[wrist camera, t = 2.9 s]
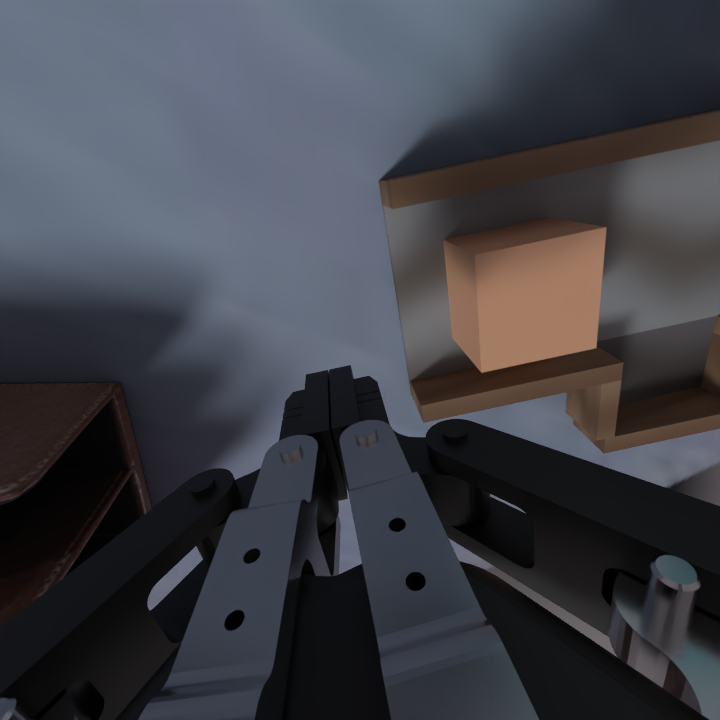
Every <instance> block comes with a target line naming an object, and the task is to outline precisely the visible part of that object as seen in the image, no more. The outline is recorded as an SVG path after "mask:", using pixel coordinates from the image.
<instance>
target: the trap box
mask: <svg viewBox="0 0 720 720" xmlns="http://www.w3.org/2000/svg"><path fill="white" fill-rule="evenodd" d="M379 185H380V192H381V198H382V205H383V212H384V218H385V225H386V231H387V238H388V244H389V251H390V257H391V264H392V271H393V277H394V284H395V290H396V297H397V303H398V310H399V316H400V323H401V330H402V336H403V343H404V349H405V356H406V362H407V369H408V375H409V382H410V389H411V395H412V397H413V399H414V402H415V404H416V406H417V409H418V411H419V413H420V416H421V418H422V420H423V423H424V422H429V421H434V420H438V419H443V418H448V417H452V416H457V415H462V414H466V413H471V412H476V411H480V410H485V409H490V408H494V407H499V406H504V405H508V404H513V403H518V402H522V401H527V400H532V399H536V398H541V397H546V396H550V395H555V394H559V393H564V392H567V404H566V413H567V414H568V415H570V416H571V417H572V418H573V419H574V422H573V424H574V425H575V426H576V427H577V428H578V429H579V430H580V431H581V432H582V433H583V434H584V435H585V436H586V437H587V438H588V439H589V440H590V441H591V442H593V443H594V444H595V445H596V446H597V447H598V448H599V449H600V450H601V451H602V452H603V453H608V452H613V451H617V450H622V449H627V448H631V447H636V446H641V445H645V444H650V443H654V442H659V441H664V440H668V439H673V438H678V437H682V436H687V435H692V434H696V433H701V432H706V431H710V430H715V429H719V428H720V109H717V110H712V111H707V112H703V113H698V114H693V115H688V116H684V117H679V118H674V119H669V120H665V121H660V122H655V123H650V124H646V125H641V126H636V127H631V128H627V129H622V130H617V131H612V132H608V133H603V134H598V135H593V136H589V137H584V138H579V139H574V140H570V141H565V142H560V143H555V144H551V145H546V146H541V147H536V148H532V149H527V150H522V151H517V152H513V153H508V154H503V155H498V156H494V157H489V158H484V159H479V160H475V161H470V162H465V163H460V164H456V165H451V166H446V167H441V168H437V169H432V170H427V171H422V172H418V173H413V174H408V175H403V176H399V177H394V178H389V179H384V180H380V181H379ZM544 218H555V219H561V220H567V221H573V222H579V223H585V224H591V225H597V226H603V227H607V228H606V240H605V252H604V263H603V275H602V287H601V299H600V311H599V322H598V334H597V346H596V348H595V349H590V350H586V351H581V352H576V353H572V354H567V355H562V356H558V357H553V358H548V359H544V360H539V361H534V362H530V363H525V364H520V365H516V366H511V367H506V368H502V369H497V370H492V371H487V372H483V373H481V372H480V370H479V369H478V368H477V367H476V366H475V364H474V363H473V362H472V361H471V360H470V358H469V357H468V356H467V355H466V354H465V353H464V351H463V350H462V349H461V348H460V347H459V345H458V344H457V343H456V342H455V341H454V339H453V338H452V329H451V318H450V307H449V296H448V285H447V275H446V264H445V253H444V242H443V240H445V239H450V238H454V237H459V236H464V235H468V234H473V233H478V232H483V231H487V230H492V229H497V228H502V227H506V226H511V225H516V224H520V223H525V222H530V221H535V220H539V219H544Z"/></svg>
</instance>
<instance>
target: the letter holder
mask: <svg viewBox="0 0 720 720" xmlns="http://www.w3.org/2000/svg"><path fill="white" fill-rule="evenodd" d="M151 509H152V506H151V501H150V497H149V494H148V489H147V484H146V481H145V477H144V472H143V469H142V464H141V460H140V457H139V452H138V448H137V444H136V441H135V436H134V433H133V429H132V424H131V421H130V415H129V412H128V409H127V405H126V401H125V396H124V393H123V389H122V386H121V384H120V383H116V382H111V383H89V382H86V383H26V384H23V383H13V384H2V383H0V627H2V626H3V625H4V624H5V623H7V622H8V621H9V620H10V619H12V618H13V617H14V616H16V615H17V614H18V613H19V612H21V611H22V610H23V609H25V608H26V607H27V606H28V605H30V604H31V603H32V602H33V601H35V600H36V599H37V598H39V597H40V596H41V595H42V594H44V593H45V592H46V591H47V590H49V589H50V588H51V587H53V586H54V585H55V584H56V583H58V582H59V581H60V580H62V579H63V578H64V577H65V576H67V575H68V574H69V573H70V572H72V571H73V570H74V569H76V568H77V567H78V566H79V565H81V564H82V563H83V562H84V561H86V560H87V559H88V558H90V557H91V556H92V555H93V554H95V553H96V552H97V551H99V550H100V549H101V548H102V547H104V546H105V545H106V544H107V543H109V542H110V541H111V540H113V539H114V538H115V537H116V536H118V535H119V534H120V533H121V532H123V531H124V530H125V529H127V528H128V527H129V526H130V525H132V524H133V523H134V522H136V521H137V520H138V519H139V518H141V517H142V516H143V515H144V514H146V513H147V512H148V511H150V510H151Z"/></svg>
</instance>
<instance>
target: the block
mask: <svg viewBox="0 0 720 720" xmlns="http://www.w3.org/2000/svg"><path fill="white" fill-rule="evenodd" d="M606 228H607V227H603V226H597V225H591V224H585V223H579V222H573V221H567V220H561V219H555V218H544V219H539V220H535V221H530V222H525V223H520V224H516V225H511V226H506V227H502V228H497V229H492V230H487V231H483V232H478V233H473V234H468V235H464V236H459V237H454V238H450V239H445V240H443V242H444V253H445V264H446V275H447V285H448V296H449V307H450V318H451V329H452V338H453V339H454V341H455V342H456V343H457V344H458V345H459V347H460V348H461V349H462V350H463V351H464V353H465V354H466V355H467V356H468V357H469V358H470V360H471V361H472V362H473V363H474V364H475V366H476V367H477V368H478V369H479V370H480V372H481V373H483V372H487V371H492V370H497V369H502V368H506V367H511V366H516V365H520V364H525V363H530V362H534V361H539V360H544V359H548V358H553V357H558V356H562V355H567V354H572V353H576V352H581V351H586V350H590V349H595V348H596V346H597V334H598V322H599V311H600V299H601V287H602V275H603V263H604V252H605V240H606Z"/></svg>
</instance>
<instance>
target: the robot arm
mask: <svg viewBox="0 0 720 720" xmlns="http://www.w3.org/2000/svg"><path fill="white" fill-rule="evenodd" d="M346 485H347V486H346ZM347 489H348V493H349V499H350V504H351V509H352V514H353V519H354V524H355V529H356V535H357V540H358V545H359V550H360V555H361V560H362V564H360V565H358V566H356V567H354V568H352V569H350V570H348V571H346V572H343V573H341V574H339V557H340V529H341V525H340V520H339V516H338V513H339V505H338V501H340V500H344V499H348V497H347ZM490 494H492V495H494V496H496V497H498V498H500V499H502V500H505V501H507V502H509V503H511V504H513V505H515V506H517V507H519V508H520V509H522V510H523V511H524V512H525V513H526V514H525V513H523V512H521V511H519V510H517V509H515V508H513V507H511V506H509V505H507V504H505V503H503V502H500V501H498V500H496V499H494V498H492V497H490ZM448 538H449V539H451V540H453V541H454V542H456V543H457V544H459V545H461V546H462V547H464V548H466V549H467V550H469V551H470V552H472V553H474V554H475V555H477V556H479V557H480V558H482V559H483V560H485V561H487V562H488V563H490V564H492V565H493V566H495V567H496V568H498V569H500V570H501V571H503V572H505V573H506V574H508V575H509V576H511V577H513V578H514V579H516V580H518V581H519V582H521V583H522V584H524V585H526V586H527V587H529V588H530V589H532V590H534V591H535V592H537V593H539V594H540V595H542V596H543V597H545V598H547V599H548V600H550V601H552V602H553V603H555V604H557V605H558V606H560V607H561V608H563V609H565V610H566V611H568V612H569V613H571V614H573V615H574V616H576V617H578V618H579V619H581V620H582V621H584V622H586V623H587V624H589V625H591V626H592V627H594V628H596V629H597V630H599V631H600V632H602V633H603V634H605V635H607V636H608V637H609V639H610V643H611V646H612V648H613V650H614V652H615V654H616V656H617V657H618V658H617V657H616V656H614V655H613V654H611V653H610V652H609V651H607V650H605V649H604V648H603V647H601V646H600V645H598V644H597V643H595V642H594V641H592V640H591V639H589V638H588V637H586V636H585V635H583V634H582V633H580V632H579V631H577V630H576V629H574V628H573V627H572V626H570V625H569V624H567V623H566V622H564V621H563V620H561V619H560V618H558V617H557V616H555V615H554V614H552V613H551V612H549V611H548V610H546V609H545V608H543V607H542V606H540V605H539V604H537V603H536V602H534V601H533V600H532V599H530V598H529V597H527V596H526V595H524V594H523V593H521V592H520V591H518V590H517V589H515V588H514V587H512V586H511V585H509V584H508V583H506V582H505V581H503V580H502V579H500V578H499V577H497V576H496V575H494V574H492V573H490V572H488V571H486V570H484V569H482V568H479V567H476V566H474V565H471V564H468V563H464V562H460V561H459V560H458V558H457V556H456V554H455V552H454V549H453V547H452V545H451V543H450V541H449V539H448ZM195 546H197V548H198V550H199V552H200V554H201V556H202V558H203V560H202V561H201V562H200V563H199V564H198V565H197V566H196V567H195V568H194V569H193V570H192V571H191V572H190V573H189V574H188V575H187V576H186V577H185V578H184V579H183V580H182V581H181V582H180V583H179V584H178V585H177V586H176V587H175V588H174V589H173V590H172V591H171V592H170V593H169V594H168V595H167V596H166V597H165V598H164V599H163V600H162V601H161V602H160V603H159V604H158V605H157V606H156V607H154V608H153V609H152V610H150V611H149V609H148V606H147V601H148V597H149V594H150V592H151V590H152V588H153V587H154V586H155V584H156V583H157V582H158V581H159V580H160V579H161V578H162V577H163V576H164V575H166V574H167V573H168V572H169V571H170V570H171V569H172V568H173V567H174V566H175V565H176V564H177V563H178V562H179V561H180V560H181V559H183V558H184V557H185V556H186V555H187V554H188V553H189V552H190V551H191V550H192V549H193V548H194V547H195ZM0 720H720V506H717V505H714V504H711V503H709V502H705V501H702V500H699V499H697V498H694V497H691V496H688V495H685V494H682V493H679V492H676V491H673V490H671V489H668V488H665V487H662V486H659V485H656V484H653V483H650V482H647V481H644V480H641V479H638V478H636V477H633V476H630V475H627V474H624V473H621V472H618V471H615V470H612V469H609V468H606V467H603V466H601V465H598V464H595V463H592V462H589V461H586V460H583V459H580V458H577V457H574V456H571V455H568V454H566V453H563V452H560V451H557V450H554V449H551V448H548V447H545V446H542V445H539V444H536V443H533V442H530V441H528V440H525V439H522V438H519V437H516V436H513V435H510V434H507V433H504V432H501V431H498V430H495V429H493V428H490V427H487V426H484V425H481V424H478V423H475V422H472V421H469V420H464V419H450V420H445V421H442V422H439V423H437V424H435V425H434V426H432V427H431V428H430V429H429V430H428V432H427V434H426V437H408V436H404V435H401V434H398V433H397V432H395V431H394V430H393V429H392V427H391V426H390V424H389V421H388V418H387V414H386V411H385V407H384V404H383V400H382V397H381V393H380V390H379V386H378V383H377V381H375V380H374V379H373V378H371V377H370V376H366V377H361V378H357V379H354V378H353V374H352V369H351V365H349V366H344V367H340V368H335V369H330V370H329V372H328V370H326V371H321V372H316V373H311V374H307V375H306V381H305V390H300V391H296V392H293V393H292V394H291V395H290V397H289V398H288V399H287V400H286V402H285V408H284V414H283V420H282V426H281V432H280V438H279V441H278V442H277V443H275V444H274V445H273V446H272V447H270V449H269V450H268V451H267V452H266V454H265V457H264V460H263V463H262V466H261V468H260V469H258V470H257V471H254V472H252V473H250V474H248V475H246V476H243V477H241V478H239V479H236V480H235V479H234V477H233V474H232V473H231V472H230V471H229V470H226V469H221V468H219V469H211V470H207V471H204V472H202V473H200V474H198V475H196V476H194V477H192V478H191V479H189V480H188V481H187V482H185V483H184V484H183V485H181V486H180V487H179V488H178V489H176V490H175V491H174V492H173V493H171V494H170V495H169V496H167V497H166V498H165V499H164V500H162V501H161V502H160V503H158V504H157V505H156V506H155V507H153V508H152V509H151V510H150V511H148V512H147V513H146V514H144V515H143V516H142V517H141V518H139V519H138V520H137V521H136V522H134V523H133V524H132V525H130V526H129V527H128V528H127V529H125V530H124V531H123V532H121V533H120V534H119V535H118V536H116V537H115V538H114V539H113V540H111V541H110V542H109V543H107V544H106V545H105V546H104V547H102V548H101V549H100V550H99V551H97V552H96V553H95V554H93V555H92V556H91V557H90V558H88V559H87V560H86V561H84V562H83V563H82V564H81V565H79V566H78V567H77V568H76V569H74V570H73V571H72V572H70V573H69V574H68V575H67V576H65V577H64V578H63V579H62V580H60V581H59V582H58V583H56V584H55V585H54V586H53V587H51V588H50V589H49V590H47V591H46V592H45V593H44V594H42V595H41V596H40V597H39V598H37V599H36V600H35V601H33V602H32V603H31V604H30V605H28V606H27V607H26V608H25V609H23V610H22V611H21V612H19V613H18V614H17V615H16V616H14V617H13V618H12V619H10V620H9V621H8V622H7V623H5V624H4V625H3V626H2V627H0Z"/></svg>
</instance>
